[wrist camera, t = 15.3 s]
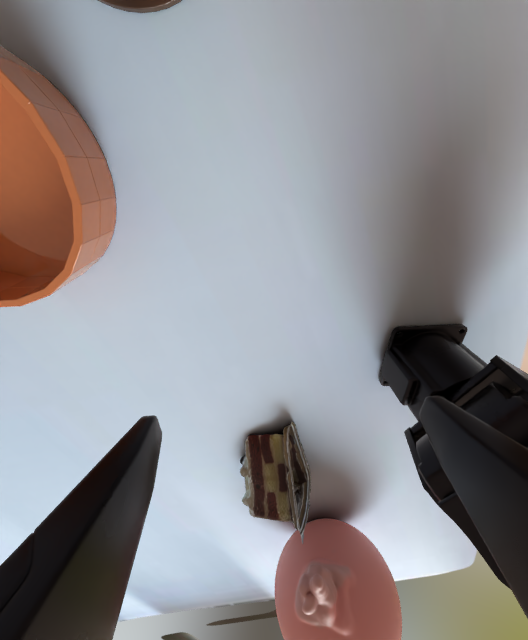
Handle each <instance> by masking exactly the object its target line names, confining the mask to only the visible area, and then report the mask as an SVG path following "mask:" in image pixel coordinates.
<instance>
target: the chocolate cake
mask: <svg viewBox="0 0 528 640" xmlns="http://www.w3.org/2000/svg"><path fill="white" fill-rule="evenodd" d="M298 438H299V436H298V434H297V429H296V425H295V424H294V422H291V424H290V425H289V426H286V427H285V428H284V430H283V435H281V434H274V435H270V434H264V435H249V436H248V438H247V440H246V441H245V448H246V456H245V457H242V458H241V460H240V463H241V464H243V467H242V468H241V470H240V473H241V475H242V476H243V477H245V488H246V493H245V495H244V497H243V499H242V502H243V503H244V504H245V505H246V506H248V507H249V512H250V515H251V516H253V517H257V518H264V519H271V520H278V521H283V522H293V523H294V527H295V528H296V529H297V530H298V531H299V532H300V535H301V540H302V544H303V539H304V530H305V526H306V522H307V519H308V518H307V517H308V515H307V514H308V509H309V507H310V505H309V502H310V501H309V498H310V491H311V489H310V486H311V484H310V483H311V477H310V470H309V467H308V466H309V465H307V460H306V458H305V455H304V451H303V448H302V445H301V443H300V440H299V439H298Z"/></svg>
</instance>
